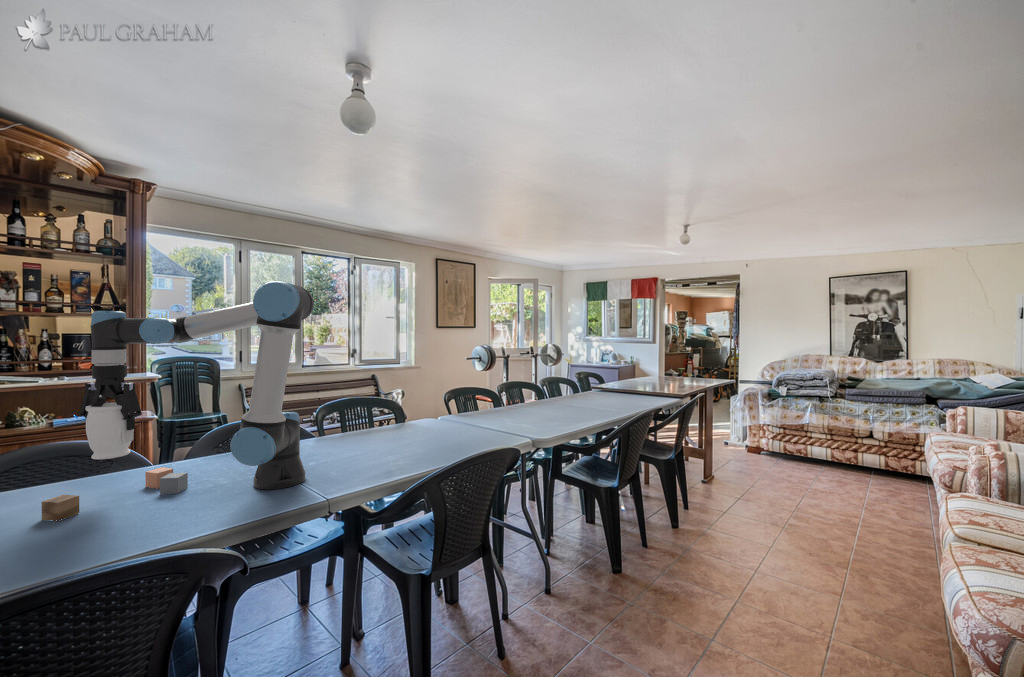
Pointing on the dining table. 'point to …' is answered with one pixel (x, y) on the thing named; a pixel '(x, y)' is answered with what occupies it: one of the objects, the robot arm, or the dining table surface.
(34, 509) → the dining table surface
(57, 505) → the walnut block
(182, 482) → the grey block
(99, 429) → the jar
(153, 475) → the terracotta block
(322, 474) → the dining table surface
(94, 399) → the robot arm
